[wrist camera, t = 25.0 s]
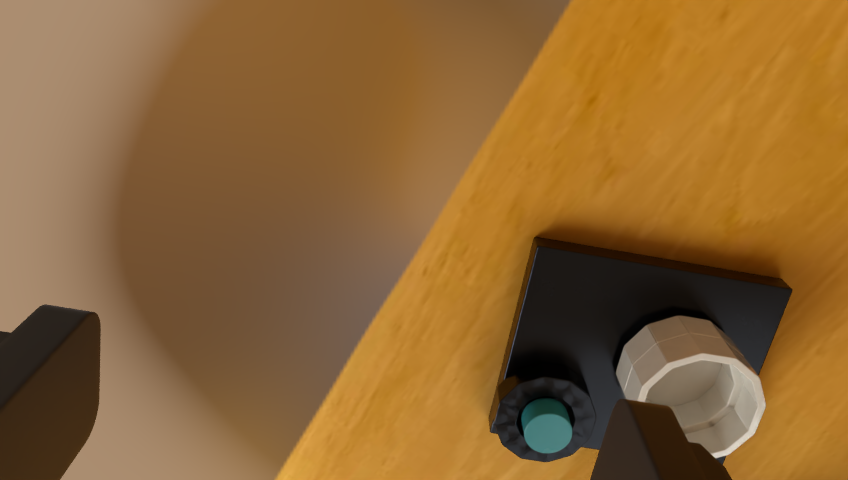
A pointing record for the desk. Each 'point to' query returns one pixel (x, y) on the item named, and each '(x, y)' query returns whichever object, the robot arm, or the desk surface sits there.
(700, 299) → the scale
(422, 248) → the desk surface
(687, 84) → the desk surface
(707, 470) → the robot arm
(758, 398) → the bowl
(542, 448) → the power button
